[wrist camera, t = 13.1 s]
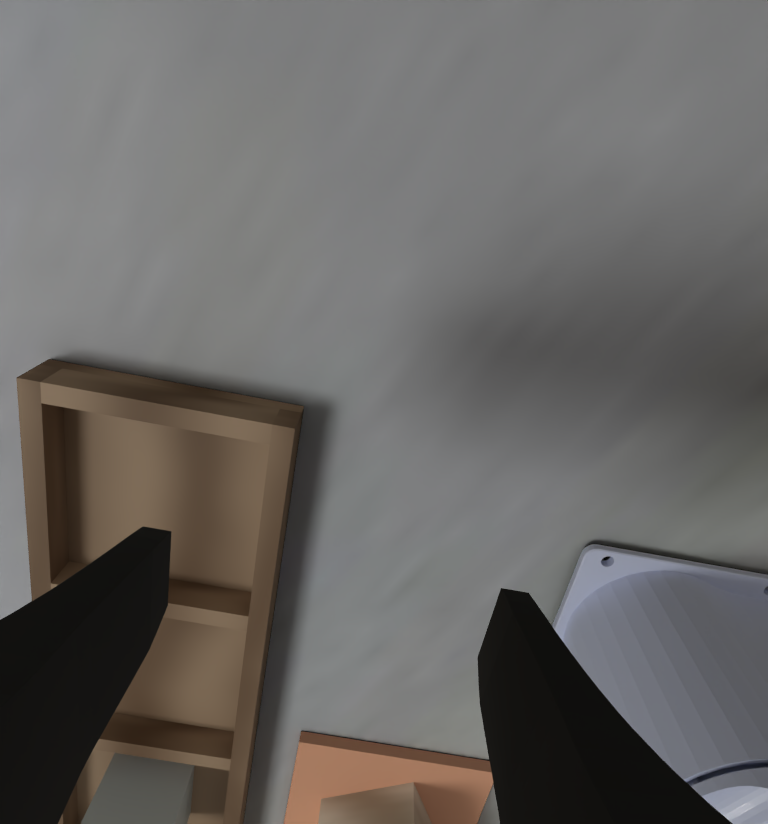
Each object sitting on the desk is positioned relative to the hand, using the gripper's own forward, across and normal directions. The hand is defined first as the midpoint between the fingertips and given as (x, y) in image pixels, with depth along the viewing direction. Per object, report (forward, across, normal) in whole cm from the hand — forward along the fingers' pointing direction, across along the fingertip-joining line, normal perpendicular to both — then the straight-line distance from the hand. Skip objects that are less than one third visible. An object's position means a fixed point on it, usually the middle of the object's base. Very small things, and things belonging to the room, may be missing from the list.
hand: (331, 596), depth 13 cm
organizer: (+10, +7, +14) cm, 19 cm away
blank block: (+10, +7, +23) cm, 26 cm away
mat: (+10, -5, +23) cm, 26 cm away
